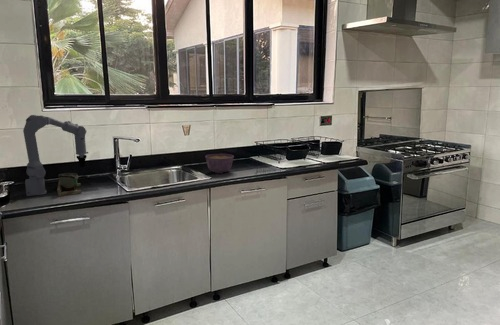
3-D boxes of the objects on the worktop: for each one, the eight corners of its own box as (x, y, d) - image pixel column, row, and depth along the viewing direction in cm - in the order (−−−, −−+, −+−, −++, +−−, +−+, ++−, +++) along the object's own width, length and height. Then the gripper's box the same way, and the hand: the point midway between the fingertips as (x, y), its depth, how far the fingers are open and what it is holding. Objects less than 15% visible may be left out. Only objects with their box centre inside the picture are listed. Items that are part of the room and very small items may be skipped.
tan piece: (58, 197, 204) (57, 190, 203) (59, 186, 225) (58, 180, 224) (81, 194, 209) (80, 187, 208) (80, 184, 230) (80, 178, 229)
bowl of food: (200, 174, 258) (200, 157, 255) (212, 168, 276) (212, 153, 274) (227, 176, 251) (227, 159, 249) (238, 170, 270) (237, 154, 268)
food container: (84, 190, 218) (83, 173, 216) (76, 192, 212) (75, 175, 210) (67, 188, 222) (65, 172, 220) (59, 191, 216) (57, 174, 214)
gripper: (88, 146, 224) (89, 168, 227) (87, 143, 237) (89, 164, 240) (75, 147, 221) (77, 169, 224) (74, 144, 234) (77, 165, 237)
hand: (82, 167), depth 231 cm, fingers closed
